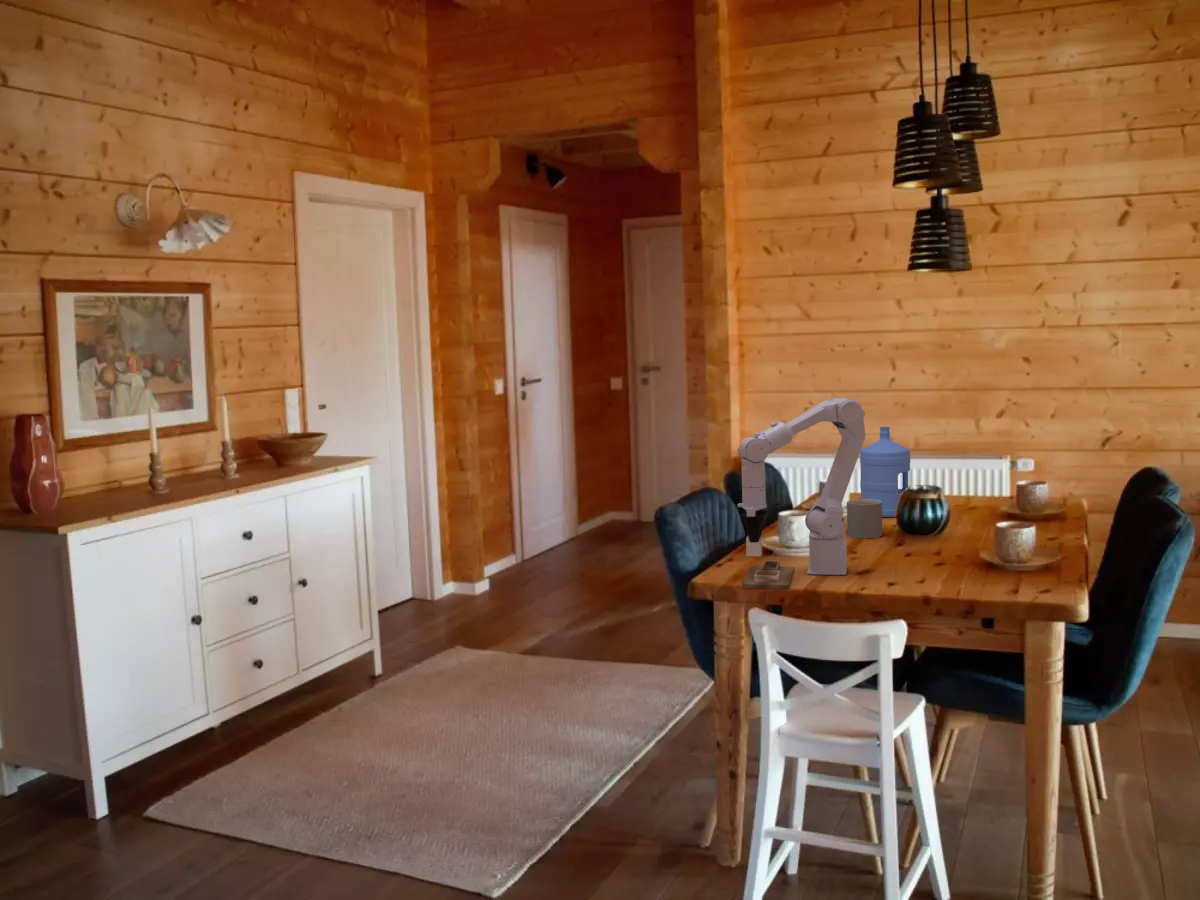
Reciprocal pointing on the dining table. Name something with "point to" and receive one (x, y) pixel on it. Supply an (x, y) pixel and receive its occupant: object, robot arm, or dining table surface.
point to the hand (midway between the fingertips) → (755, 540)
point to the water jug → (884, 472)
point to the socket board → (769, 576)
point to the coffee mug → (864, 518)
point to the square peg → (754, 547)
